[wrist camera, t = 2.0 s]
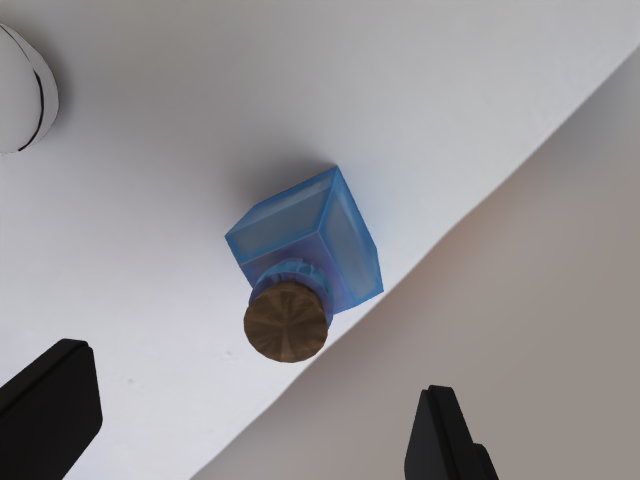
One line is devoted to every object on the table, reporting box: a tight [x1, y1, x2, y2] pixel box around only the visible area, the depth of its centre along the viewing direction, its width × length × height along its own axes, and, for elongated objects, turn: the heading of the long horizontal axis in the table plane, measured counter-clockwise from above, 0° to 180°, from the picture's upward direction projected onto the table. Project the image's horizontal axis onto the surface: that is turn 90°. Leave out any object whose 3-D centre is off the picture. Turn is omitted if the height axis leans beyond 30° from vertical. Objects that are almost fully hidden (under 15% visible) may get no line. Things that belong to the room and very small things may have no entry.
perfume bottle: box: [224, 166, 384, 363], centre depth 19 cm, size 6×6×12 cm
